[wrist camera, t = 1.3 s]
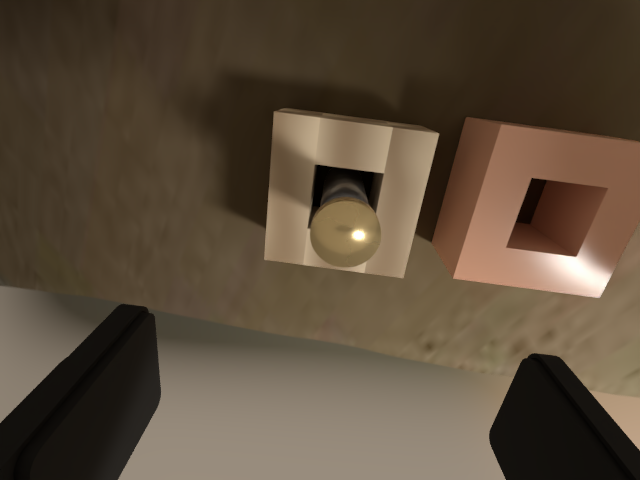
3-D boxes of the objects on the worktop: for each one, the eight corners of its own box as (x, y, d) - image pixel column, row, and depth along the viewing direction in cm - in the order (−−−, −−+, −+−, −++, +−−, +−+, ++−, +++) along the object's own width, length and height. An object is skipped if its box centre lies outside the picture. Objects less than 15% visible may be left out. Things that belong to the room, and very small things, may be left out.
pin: (370, 163, 27) (387, 206, 17) (362, 207, 28) (374, 271, 18) (323, 157, 27) (314, 197, 17) (318, 202, 28) (306, 262, 18)
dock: (603, 135, 25) (677, 147, 20) (550, 258, 29) (599, 297, 24) (465, 116, 25) (501, 124, 20) (431, 242, 29) (453, 278, 24)
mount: (421, 125, 26) (439, 133, 21) (393, 248, 30) (403, 278, 25) (285, 107, 26) (273, 111, 21) (276, 233, 29) (264, 259, 25)
